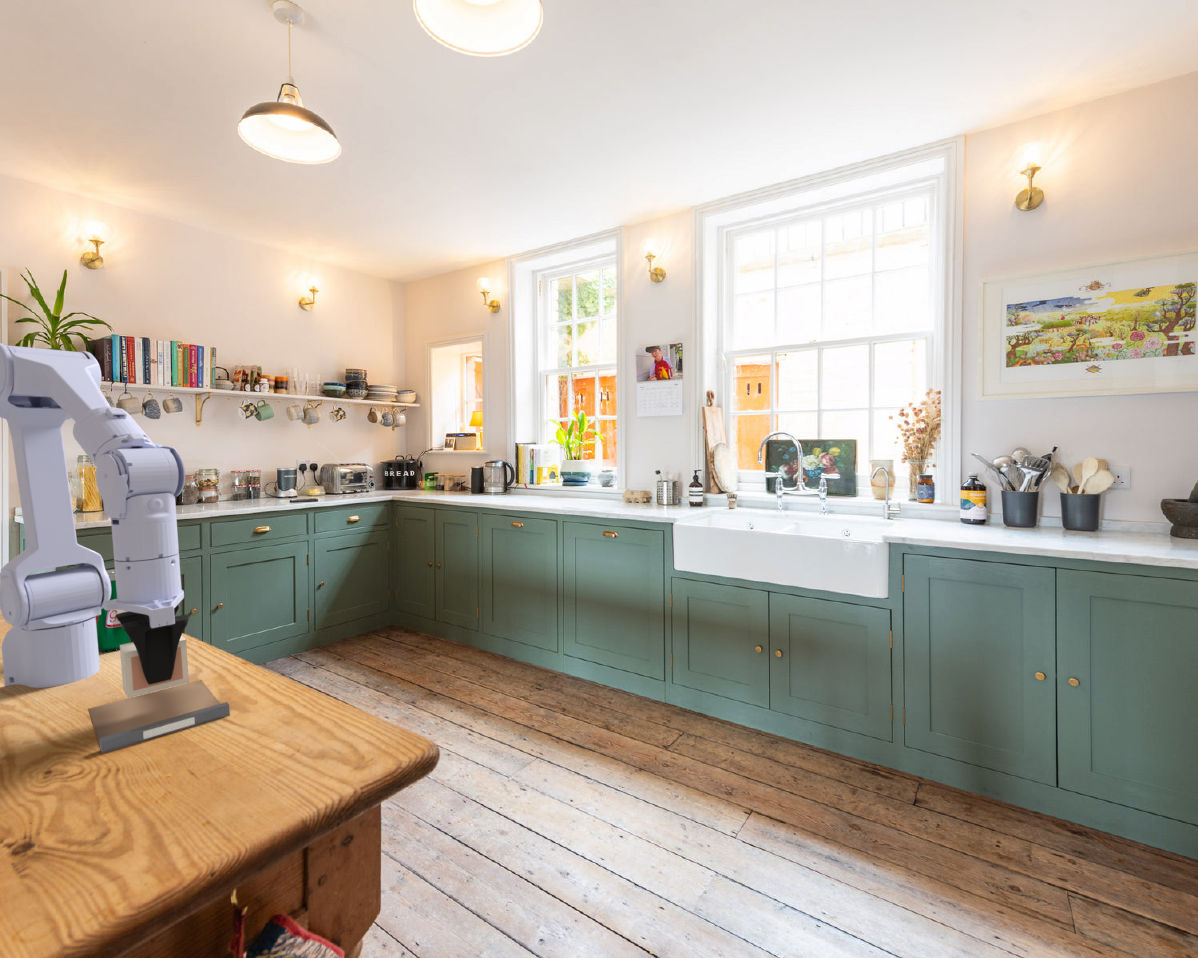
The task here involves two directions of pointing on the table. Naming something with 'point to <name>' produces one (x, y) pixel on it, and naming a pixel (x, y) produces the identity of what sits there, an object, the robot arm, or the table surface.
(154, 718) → the shelf board
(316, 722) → the table surface
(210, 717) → the rail
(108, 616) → the soda can
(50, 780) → the table surface
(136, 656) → the carton
